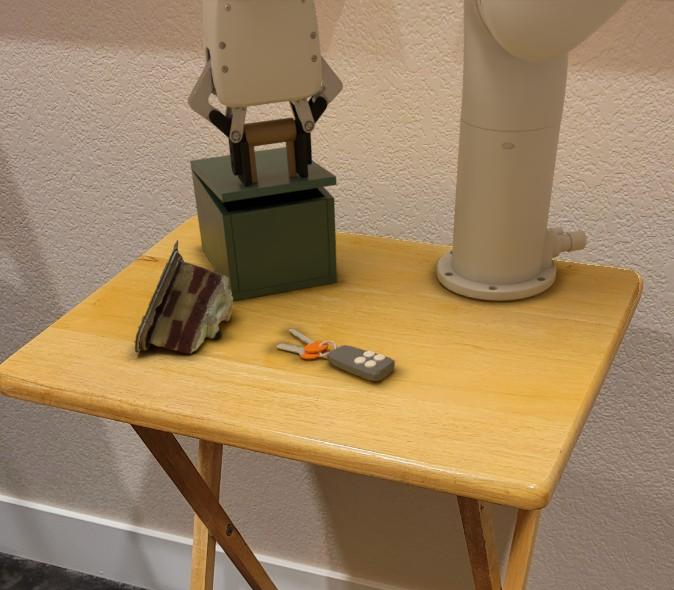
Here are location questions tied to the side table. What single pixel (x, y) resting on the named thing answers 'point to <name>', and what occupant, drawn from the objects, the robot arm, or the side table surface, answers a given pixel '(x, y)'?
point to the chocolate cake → (185, 307)
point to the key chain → (345, 357)
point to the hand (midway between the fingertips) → (272, 175)
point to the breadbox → (269, 240)
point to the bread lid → (262, 165)
